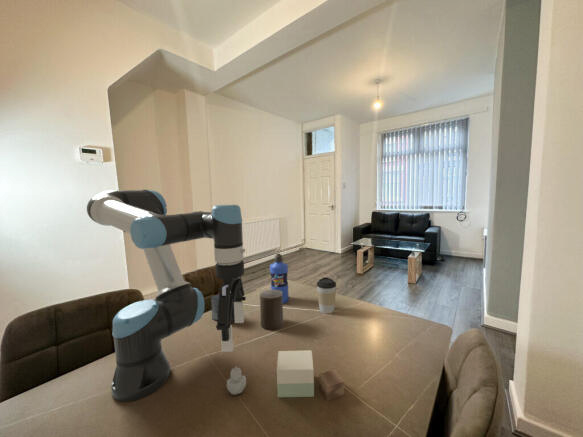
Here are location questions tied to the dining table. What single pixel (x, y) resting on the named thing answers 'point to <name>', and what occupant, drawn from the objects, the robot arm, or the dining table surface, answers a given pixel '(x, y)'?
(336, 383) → the brick
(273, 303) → the pillar candle
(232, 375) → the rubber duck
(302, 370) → the cream and green box
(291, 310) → the dining table surface
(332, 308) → the coffee cup
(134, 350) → the robot arm
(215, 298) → the small box
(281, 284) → the blue plastic bottle
